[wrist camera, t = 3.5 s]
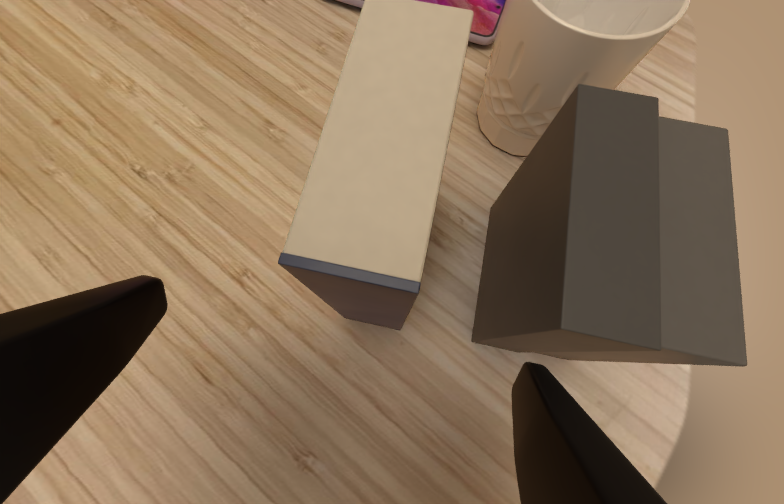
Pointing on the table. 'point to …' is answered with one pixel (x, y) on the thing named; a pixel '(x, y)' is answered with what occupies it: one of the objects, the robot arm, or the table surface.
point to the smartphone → (486, 18)
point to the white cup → (562, 59)
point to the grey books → (616, 241)
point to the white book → (380, 162)
